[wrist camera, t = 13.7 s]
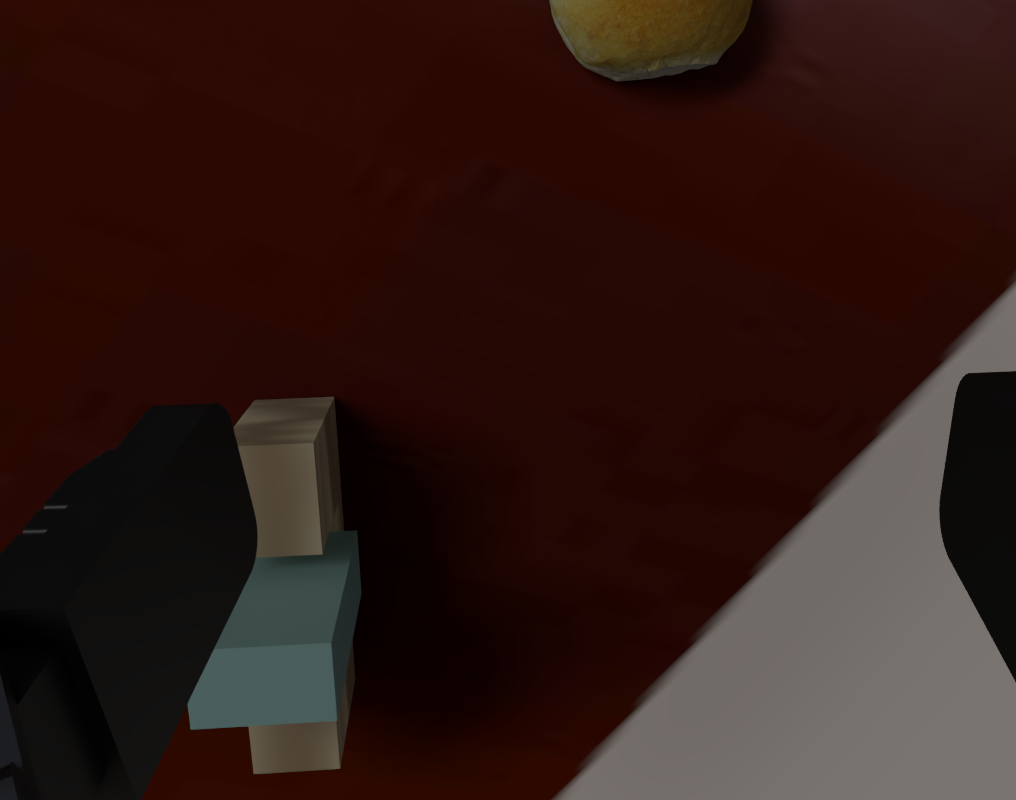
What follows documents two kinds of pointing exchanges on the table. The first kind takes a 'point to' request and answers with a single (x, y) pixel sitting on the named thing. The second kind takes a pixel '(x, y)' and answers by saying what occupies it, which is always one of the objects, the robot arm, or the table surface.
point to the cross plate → (284, 642)
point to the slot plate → (295, 544)
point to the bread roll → (648, 34)
